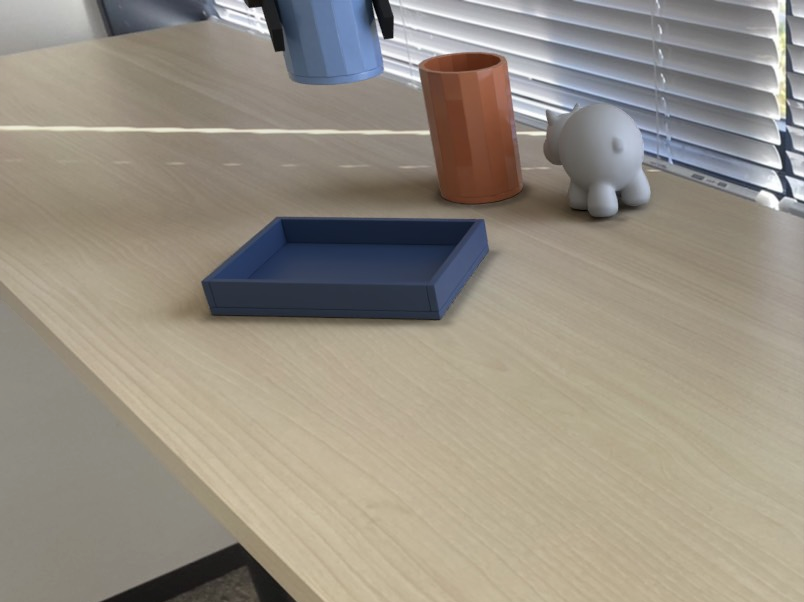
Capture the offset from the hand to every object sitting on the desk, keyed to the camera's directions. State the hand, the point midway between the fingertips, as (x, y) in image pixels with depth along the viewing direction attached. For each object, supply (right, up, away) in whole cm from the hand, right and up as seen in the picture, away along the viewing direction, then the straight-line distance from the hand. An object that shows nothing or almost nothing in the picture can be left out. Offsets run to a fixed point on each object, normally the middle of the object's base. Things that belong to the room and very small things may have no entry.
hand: (334, 34), depth 89 cm
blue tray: (+2, -19, 0) cm, 19 cm away
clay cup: (+8, -7, +17) cm, 20 cm away
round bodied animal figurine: (+18, -9, +14) cm, 24 cm away
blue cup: (-1, -1, +5) cm, 5 cm away
